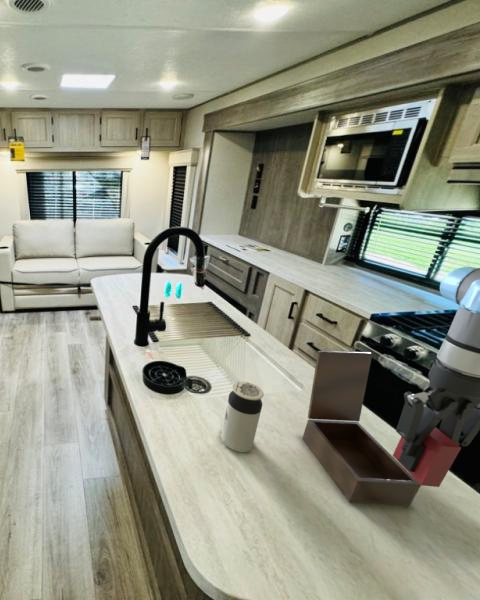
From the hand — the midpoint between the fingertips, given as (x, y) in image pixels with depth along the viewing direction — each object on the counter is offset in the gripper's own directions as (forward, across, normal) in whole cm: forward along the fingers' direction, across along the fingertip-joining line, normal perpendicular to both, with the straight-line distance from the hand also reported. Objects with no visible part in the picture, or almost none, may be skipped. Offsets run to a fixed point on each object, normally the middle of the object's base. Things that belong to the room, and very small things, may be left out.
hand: (416, 466), depth 62 cm
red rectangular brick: (+1, 0, 0) cm, 1 cm away
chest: (+15, 0, +12) cm, 20 cm away
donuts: (+16, -28, +132) cm, 136 cm away
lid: (-2, -1, +23) cm, 23 cm away
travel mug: (+16, -26, +18) cm, 35 cm away
